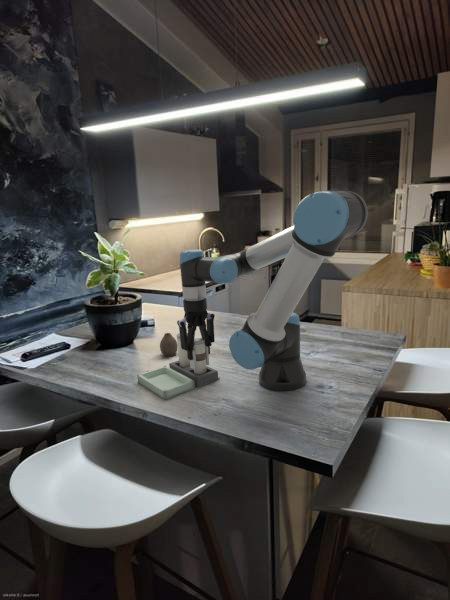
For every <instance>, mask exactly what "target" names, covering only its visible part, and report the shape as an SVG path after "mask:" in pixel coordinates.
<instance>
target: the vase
mask: <svg viewBox="0 0 450 600" xmlns="http://www.w3.org/2000/svg"><path fill="white" fill-rule="evenodd" d="M159 350H160V353H161V354H162V355H163V356H165V357H173V356H175V355H176V353H178V344H177V339H176V338H175V337H174V336H173V334H172V333H170V332H166V333H164V335H163V337H162V338H161V340H160V342H159Z"/></svg>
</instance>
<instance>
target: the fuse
mask: <svg viewBox="0 0 450 600" xmlns="http://www.w3.org/2000/svg"><path fill="white" fill-rule="evenodd" d="M187 334H188V332H187ZM176 342H177V346H178V348H177V354H178V361H179V367H181V368H185V367H188V366H190V360H189V359H188V357H187V351H186V350H183V349H182V348H181V341H180V332H179V333H177V334H176Z"/></svg>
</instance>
